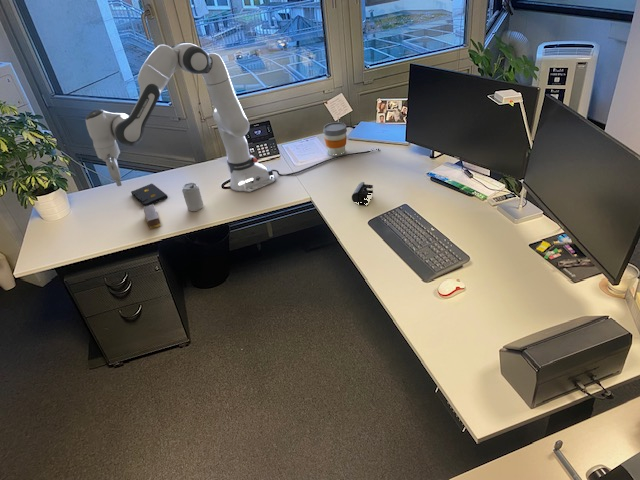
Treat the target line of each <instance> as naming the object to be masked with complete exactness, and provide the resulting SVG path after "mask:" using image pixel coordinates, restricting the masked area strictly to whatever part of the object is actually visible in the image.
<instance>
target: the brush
mask: <svg viewBox="0 0 640 480" xmlns="http://www.w3.org/2000/svg"><path fill="white" fill-rule="evenodd" d="M154 204H155V203H154ZM154 204H152V205H149V206H146V207H145V206H143V207H142V210H143V213H144V216H145V219H146V222H147V225H148V227H149V228H150V230H153V229H156V228H159V227H161V221H160V218H159V216H158V213H157V210H156V207H155V205H154Z"/></svg>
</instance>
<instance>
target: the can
mask: <svg viewBox="0 0 640 480" xmlns="http://www.w3.org/2000/svg"><path fill="white" fill-rule="evenodd" d="M181 192H182V195H183V198H184V202H185V205H186V208H187V210H188V211H190V212H197V211H200V210H201V209H202V208H203V207H204V201H203V198H202V195H201V191H200V187H199V185H197V183H195V182H188V183H186V184H184V185H183V186H182V191H181Z"/></svg>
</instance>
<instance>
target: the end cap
mask: <svg viewBox="0 0 640 480" xmlns="http://www.w3.org/2000/svg"><path fill="white" fill-rule="evenodd" d="M373 188H374V185H373V184H367V183H365V181H362V182H360V183H359V184H358V185H357V186H356V188H355V189H354V191H353V193H352V195H351V201H352V202H353V203H354V202H357V203H358V202H359V205H358V204H356V205H357V206H362V207H368V206H369V204H368V205H367V206H366V205H365V204H366V203H368V201H367V200H364V198H365V199H366V198H367V195H371V194H368V193H373V194H374V190H373ZM367 199H368V198H367ZM370 200H371V201H372V199H370ZM360 202H362V203H360ZM364 203H365V204H364Z"/></svg>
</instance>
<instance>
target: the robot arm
mask: <svg viewBox="0 0 640 480" xmlns="http://www.w3.org/2000/svg"><path fill="white" fill-rule="evenodd" d="M180 69H181V70H182V71H184V72H187V73H190V74H194V75H201V77H202V78H203V82H204V84H205V87H206V90H207V93H208V96H209V99H210V102H211V103H212V104H213V106H214V110H213V113H212V116H213V120H214V122H215V124H216V128H217V130H218V133H219V135H220V138H221V140H222V143H223V146H224V150H225V154H226V155H225V156H226V158H227V159H226V163H227V169H228V171H229V177H230V184H229V187H230V189H231V190H232V191H235V192H245V193H250V192H254V191H256V190H259V189H260V188H263V187H266V186H268V185H270V184H273V183H274V182H275V180H276V179H275V178H276V177H275V176H274V173H273V172H276V173H277V175H278V176H280V177H281V176H282V177H283V176H292V175H296V174H300V173H302V172H304V171H307V170H309V169H312V168H314V167H316V166H320V165H321V164H324V163H327V162H329V161H332V160H335V159H339V158H343V157H348V156H353V155H361V154H367V153H370V152H372V151H373V152H374V150H372V149H371V150H372V151H369V150H366V151H359V152H351V153H345V154H343V155H340V156H333V157H331V158H328V159H325V160H323V161H320V162H318V163H316V164H313V165H310V166H308V167H306V168H303V169H301V170H298V171H295V172H290V173H285V174H282V173H280V172H279V170H277V169H272V168H271V166H270V165H269V166H265V165H264V164H263V163H260V162H258V161H259V160H258V158H257V157H255V156H254V155H253V154H252V153H251V154H250V148H249V144H248V140H247V138H246V135H247V134H248V133H249V132H250V126H251V125H250V122H249V120H248V118H247V116H246V114H245V112H244V110H243V107H242V105H241V103H240V101H239V99H238V97H237V95H236V92H235V89H234V86H233V83H232V80H231V77H230V75H229V71H228V69H227V66H226V64H225V62H224V61H223V58H222V57H221V55H220V54H218V53H215V52H209V53H208V52H207V51H206V50H205V49H204V48H202V47H200V46H199V45H196V44H193V43H189V42H184V41H183V42H179V43H176V44H175V45H173V46H169V45H167V44H159V45H157V47H155V48H154V49H153V50H152V52H151V53H150V54H149V55H148V57H147V58H146V59H145V61H144V63H143V64H142V66H141V68H140V70H139V72H138V74H137V83H138V87H139V97H138V99H137V101H136V103H135V105H134V107H133V108H132V110H131V112H130V114H128V113H124V112H111V111H106V110H104V109H96V110H93V111H90V112H89V113H88V114H87V115H86V116H85V125H86V126H85V127H86V129H87V132H88V135H89V138H90V139H91V140H92V144H93V149H94V151H95V154H96V156H97V158H98V159H100V160H101V161H102V162H105V164H106V167H107V171H108V174H109V176H110V178H111V180H112V181H114V182H115V184H116V186H117V187H121V186H122V181H121V179H122V175H121V171H120V166H119V163H118V158H119V155H120V154H121V150H120V147H119V144H118V142H119V143H120V144H122V145H124V146H127V147H132V146H136V145H138V144H139V143H140V142H142V140H143V137H144V133H145V127H146V124H147V123H148V120H149V119H150V116H151V115H152V113H153V111H154V109H155V107H156V105H157V103H158V101H159V99H160V96H161V94H162V93H163V91H164V89H165V88H166V86H167V85H168V83H169V82H170V80H171V78H172V76H173V75H174V73H176V71H178V70H180ZM117 140H118V142H117ZM379 149H380V148H378V150H377V149H376V150H375V151H379Z"/></svg>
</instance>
